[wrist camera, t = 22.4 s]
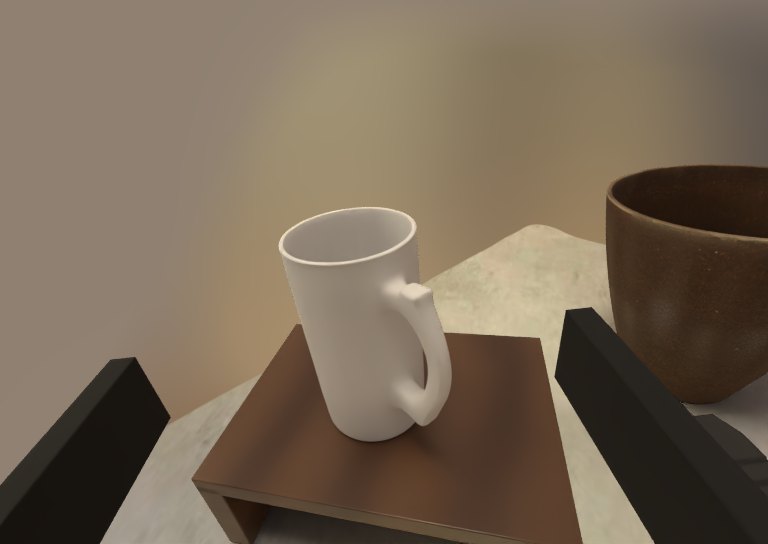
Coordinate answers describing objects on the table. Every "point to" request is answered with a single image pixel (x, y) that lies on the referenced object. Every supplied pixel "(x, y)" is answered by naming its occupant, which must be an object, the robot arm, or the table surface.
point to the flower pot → (692, 275)
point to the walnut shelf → (403, 453)
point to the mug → (368, 320)
